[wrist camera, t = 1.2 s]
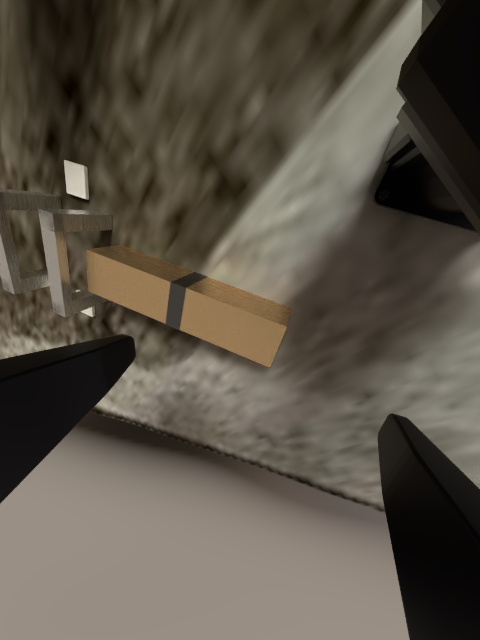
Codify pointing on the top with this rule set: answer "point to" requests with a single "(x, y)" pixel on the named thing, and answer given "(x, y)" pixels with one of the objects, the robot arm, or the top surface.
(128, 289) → the banded wooden block
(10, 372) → the robot arm
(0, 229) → the collar
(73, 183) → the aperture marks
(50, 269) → the collar
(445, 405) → the top surface
